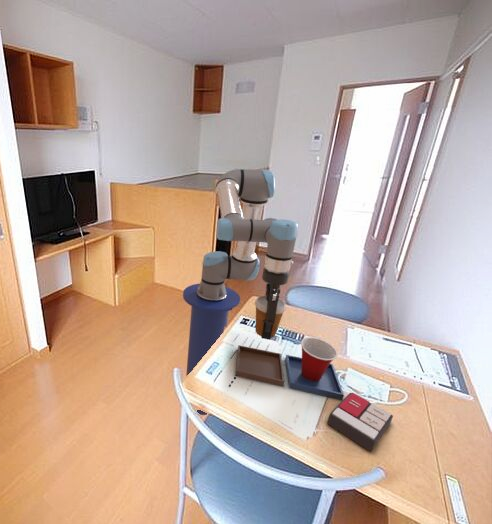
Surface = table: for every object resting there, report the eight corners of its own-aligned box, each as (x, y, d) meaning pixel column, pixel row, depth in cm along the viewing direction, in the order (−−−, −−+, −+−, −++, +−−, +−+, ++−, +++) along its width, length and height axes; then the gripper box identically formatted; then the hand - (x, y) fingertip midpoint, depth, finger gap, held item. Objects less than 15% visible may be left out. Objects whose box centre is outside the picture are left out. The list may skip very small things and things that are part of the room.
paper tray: (237, 349, 118) (238, 345, 117) (279, 358, 113) (280, 353, 113) (235, 375, 105) (236, 370, 104) (283, 386, 100) (284, 381, 99)
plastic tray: (285, 359, 113) (286, 354, 112) (331, 368, 108) (332, 363, 108) (289, 388, 100) (290, 382, 99) (342, 400, 95) (344, 394, 94)
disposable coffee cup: (244, 327, 107) (249, 297, 102) (267, 323, 109) (272, 293, 105) (262, 343, 98) (268, 310, 94) (286, 338, 101) (293, 306, 97)
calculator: (394, 413, 86) (376, 439, 77) (389, 425, 87) (371, 452, 79) (351, 389, 94) (330, 411, 85) (347, 400, 95) (326, 423, 87)
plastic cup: (310, 390, 98) (318, 360, 93) (287, 368, 107) (293, 339, 103) (337, 384, 100) (346, 354, 96) (312, 363, 110) (319, 335, 106)
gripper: (293, 284, 85) (279, 351, 93) (286, 260, 104) (275, 318, 112) (264, 280, 87) (253, 346, 95) (262, 257, 106) (253, 314, 114)
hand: (265, 331), depth 103 cm, fingers closed on disposable coffee cup, 8 cm apart
